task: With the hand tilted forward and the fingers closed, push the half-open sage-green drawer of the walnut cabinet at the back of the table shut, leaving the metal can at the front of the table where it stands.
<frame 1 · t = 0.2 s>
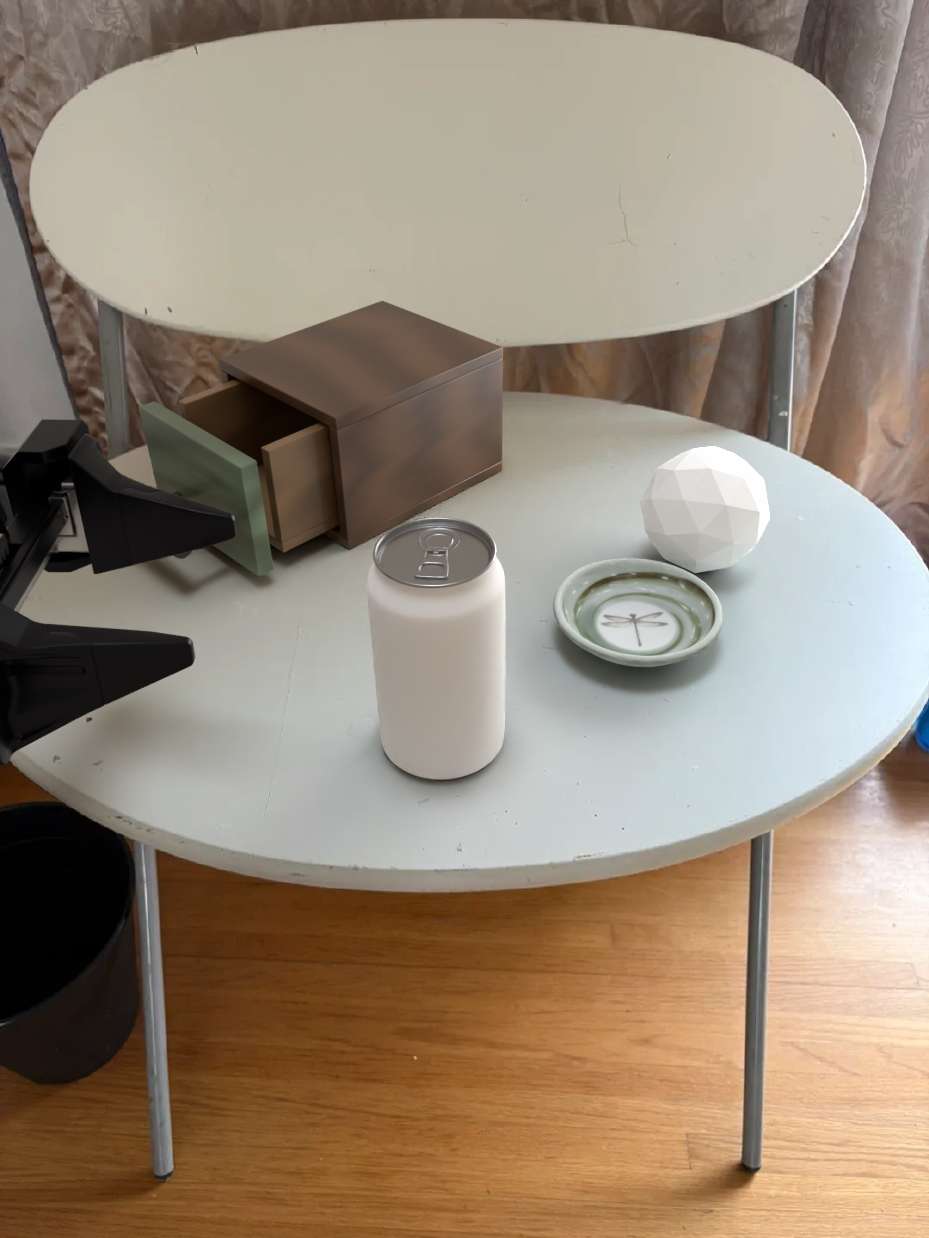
hand: (216, 583, 42), 14 cm above the table, tool horizontal, fingers open, 9 cm apart
saucer: (634, 639, 61), on the table
can: (443, 742, 55), on the table
geometric ball: (697, 561, 67), on the table
cabinet: (371, 476, 76), on the table
drawer: (259, 463, 69), point 5 cm above the table, slide at 5.5 cm
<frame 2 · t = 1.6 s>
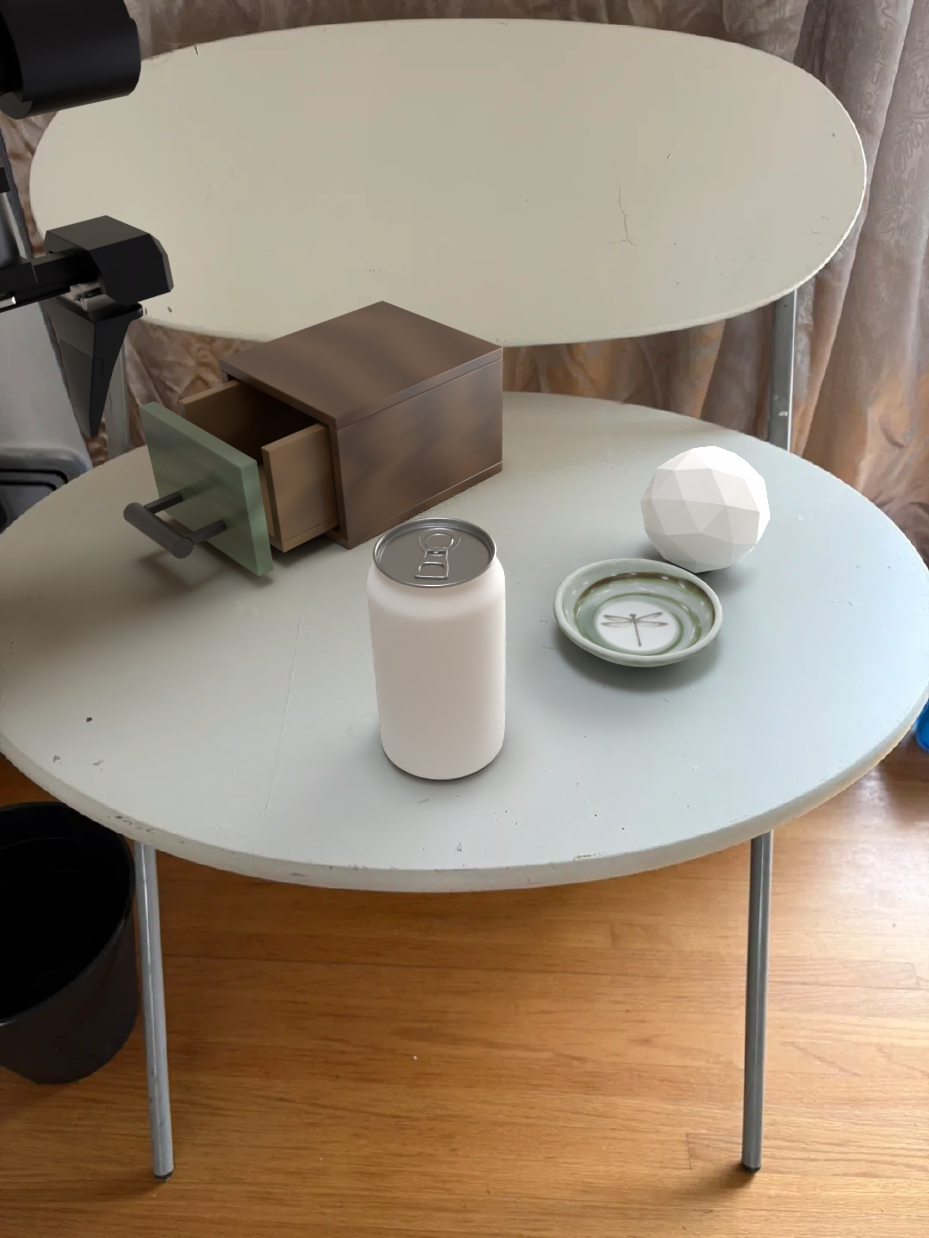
hand: (20, 461, 54), 12 cm above the table, tool pointing down, fingers open, 8 cm apart
nothing on the table moved.
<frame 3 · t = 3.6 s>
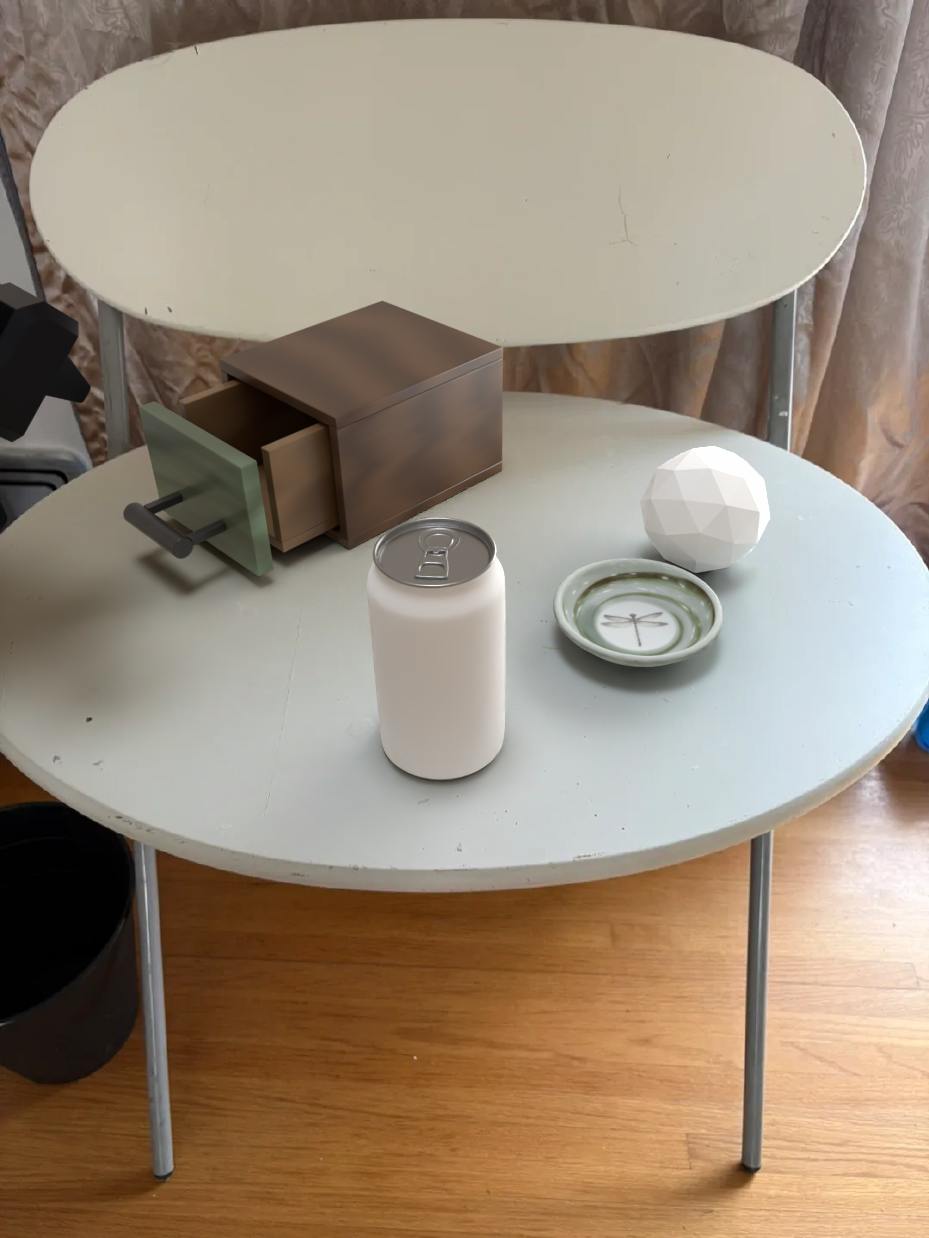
hand: (84, 393, 58), 13 cm above the table, tool tilted 45°, fingers closed
nothing on the table moved.
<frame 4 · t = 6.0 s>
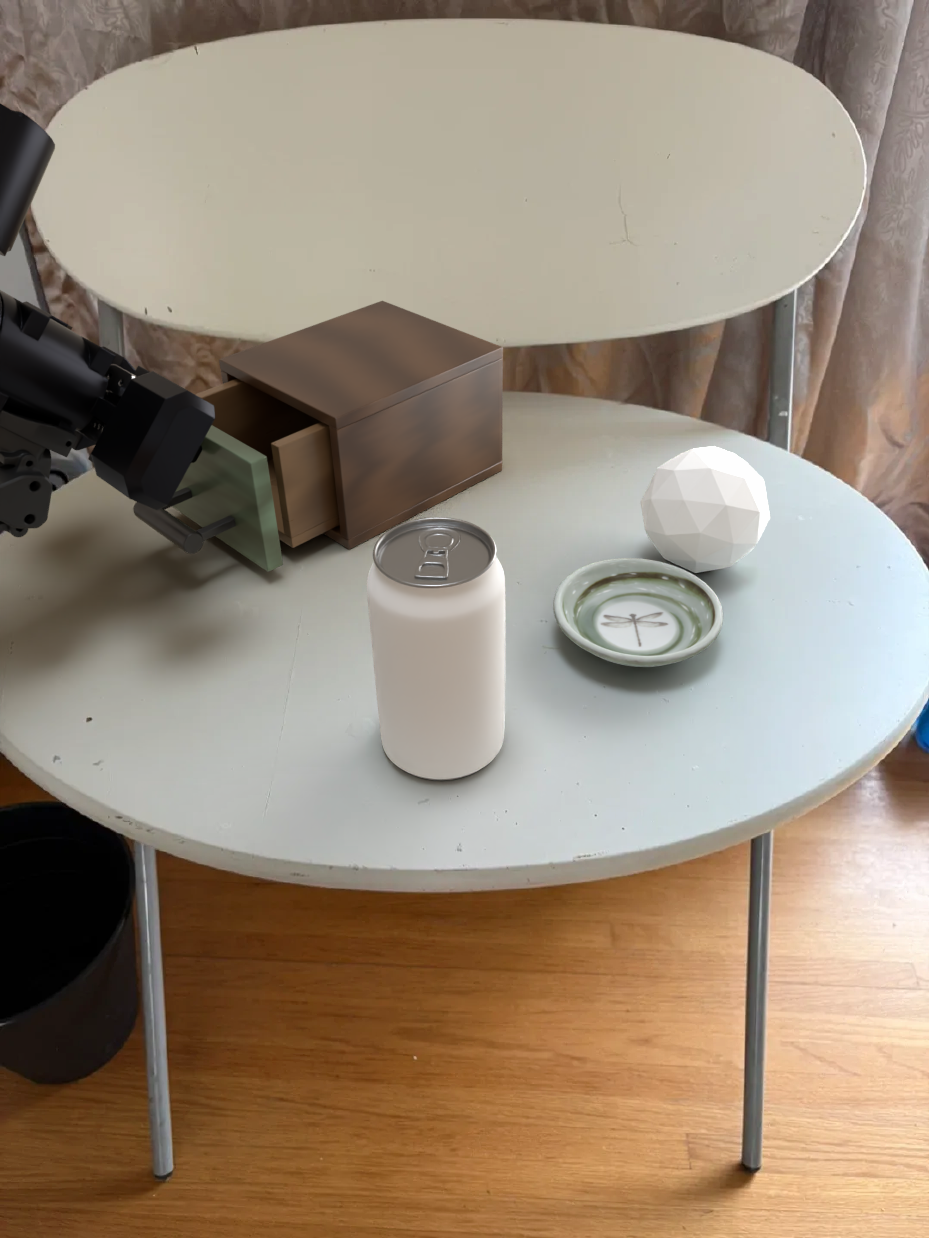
hand: (195, 454, 65), 7 cm above the table, tool tilted 45°, fingers closed, pressing on drawer
drawer: (268, 459, 69), point 5 cm above the table, slide at 4.8 cm, touching gripper
everything else where it was.
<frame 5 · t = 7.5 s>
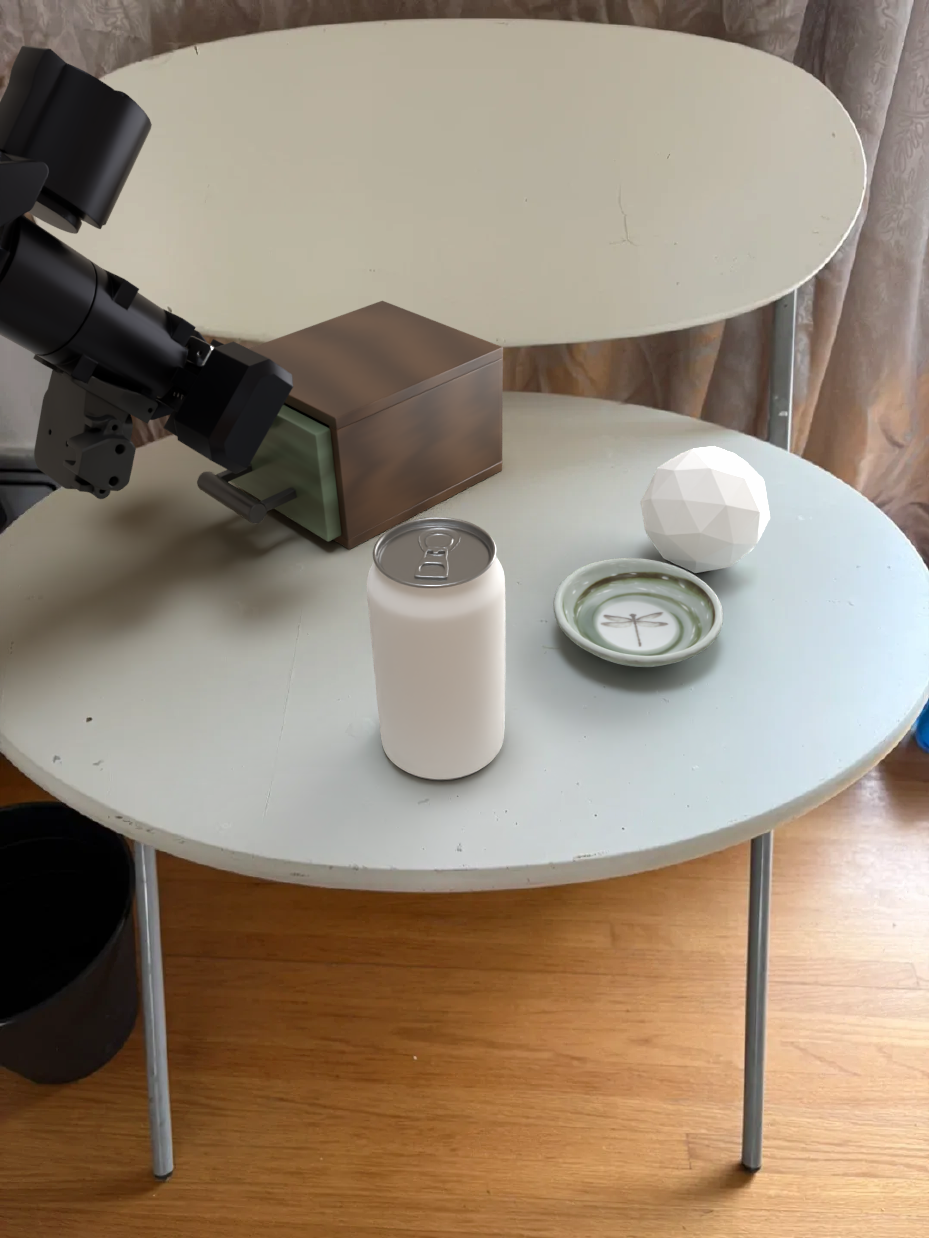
hand: (259, 427, 67), 7 cm above the table, tool tilted 45°, fingers closed, pressing on drawer
drawer: (325, 435, 72), point 5 cm above the table, slide at 0.0 cm, touching cabinet, gripper
everything else where it was.
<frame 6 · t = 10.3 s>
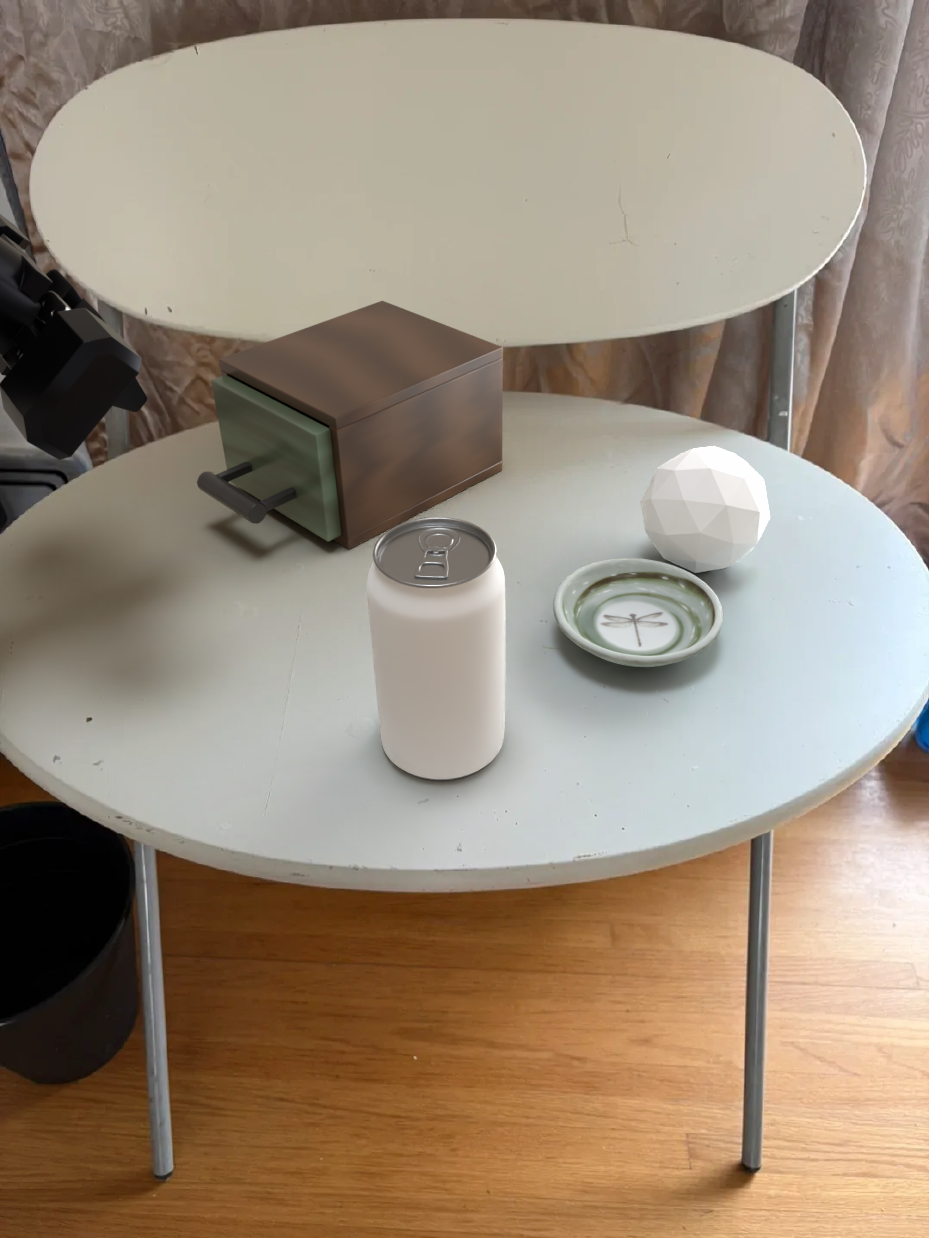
hand: (140, 403, 60), 12 cm above the table, tool tilted 40°, fingers closed
drawer: (325, 435, 72), point 5 cm above the table, slide at 0.0 cm, touching cabinet
everything else where it was.
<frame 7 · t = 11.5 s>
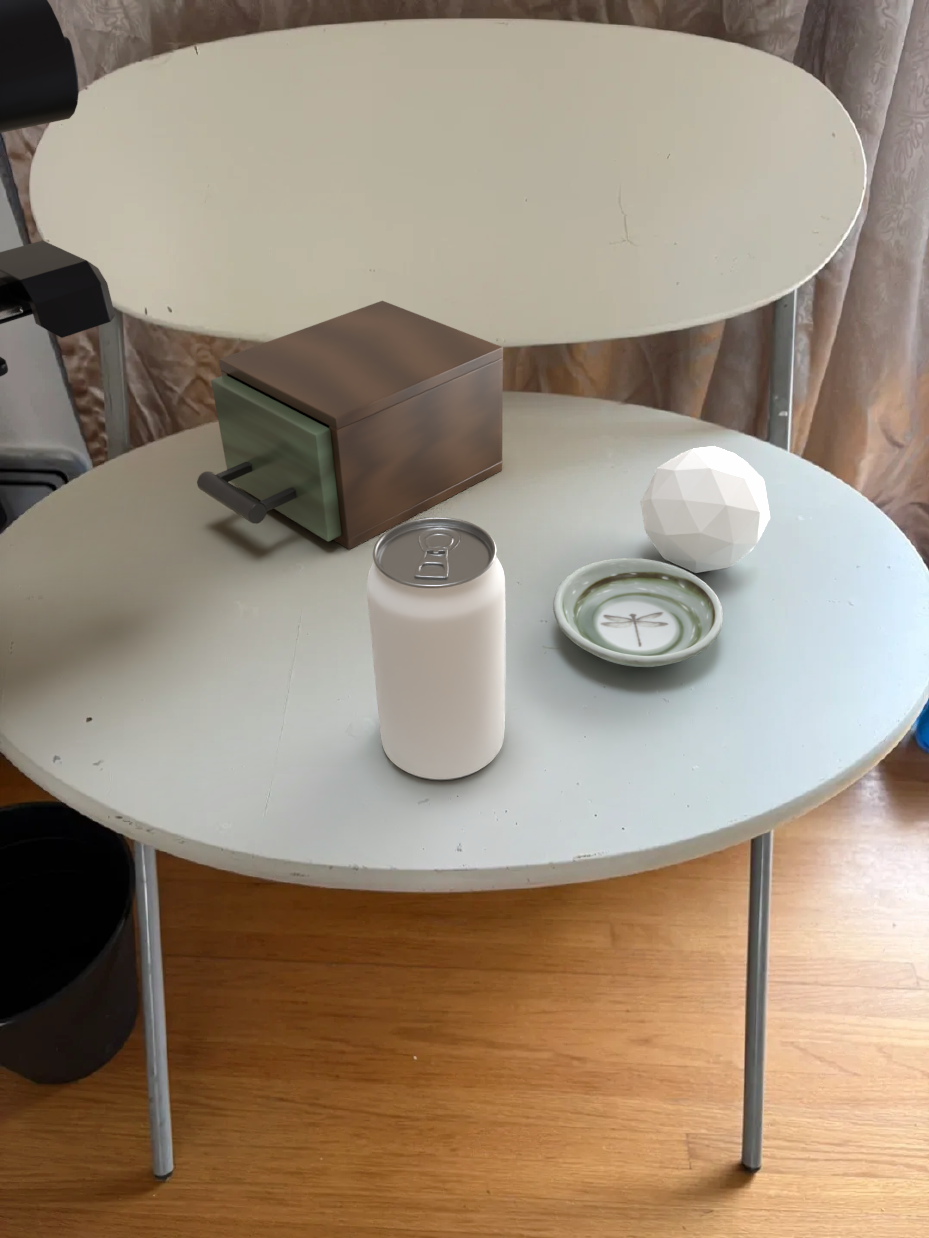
nothing on the table moved.
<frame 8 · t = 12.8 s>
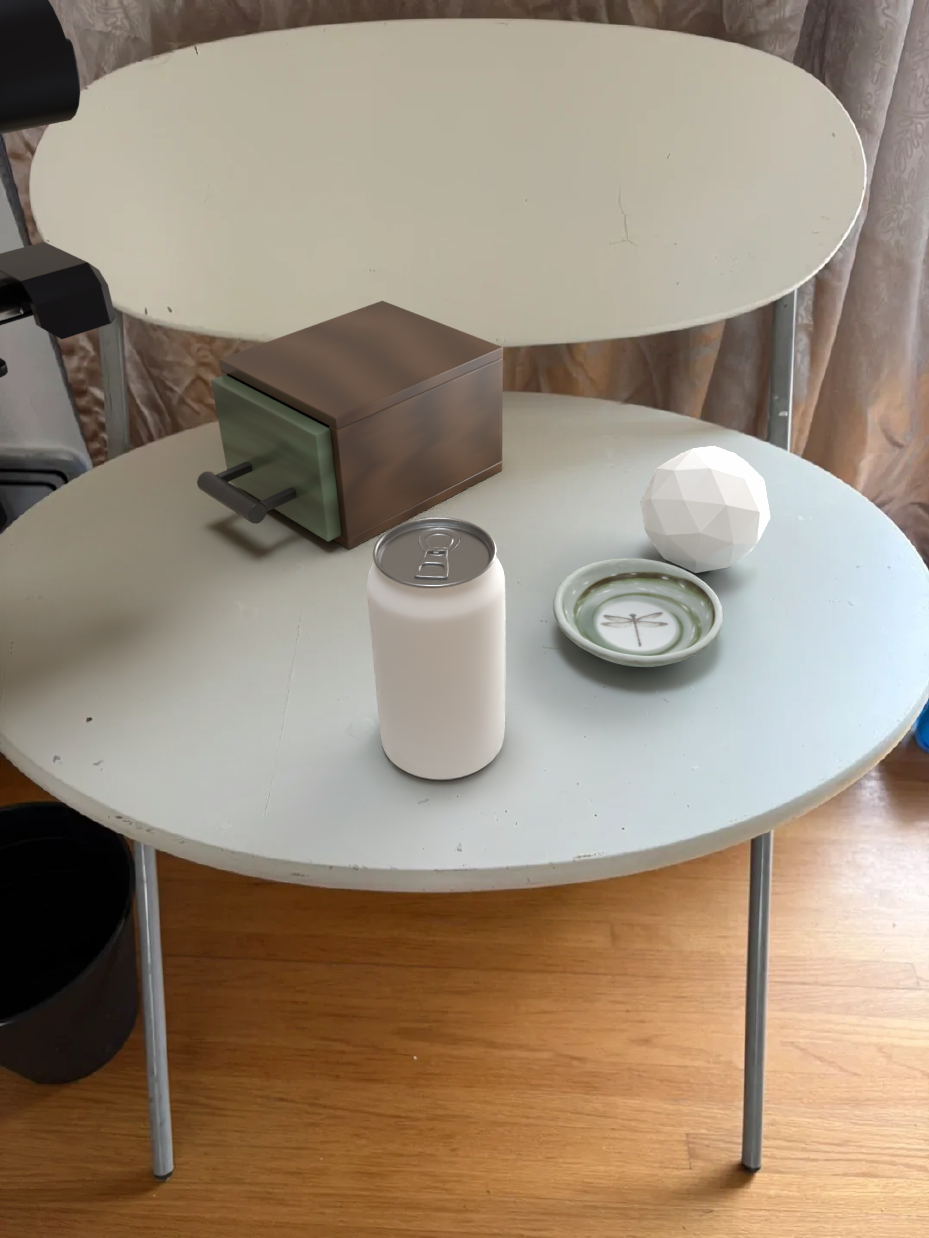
nothing on the table moved.
at the end: drawer slide at 0.0 cm; can moved 0.2 cm from its start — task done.
